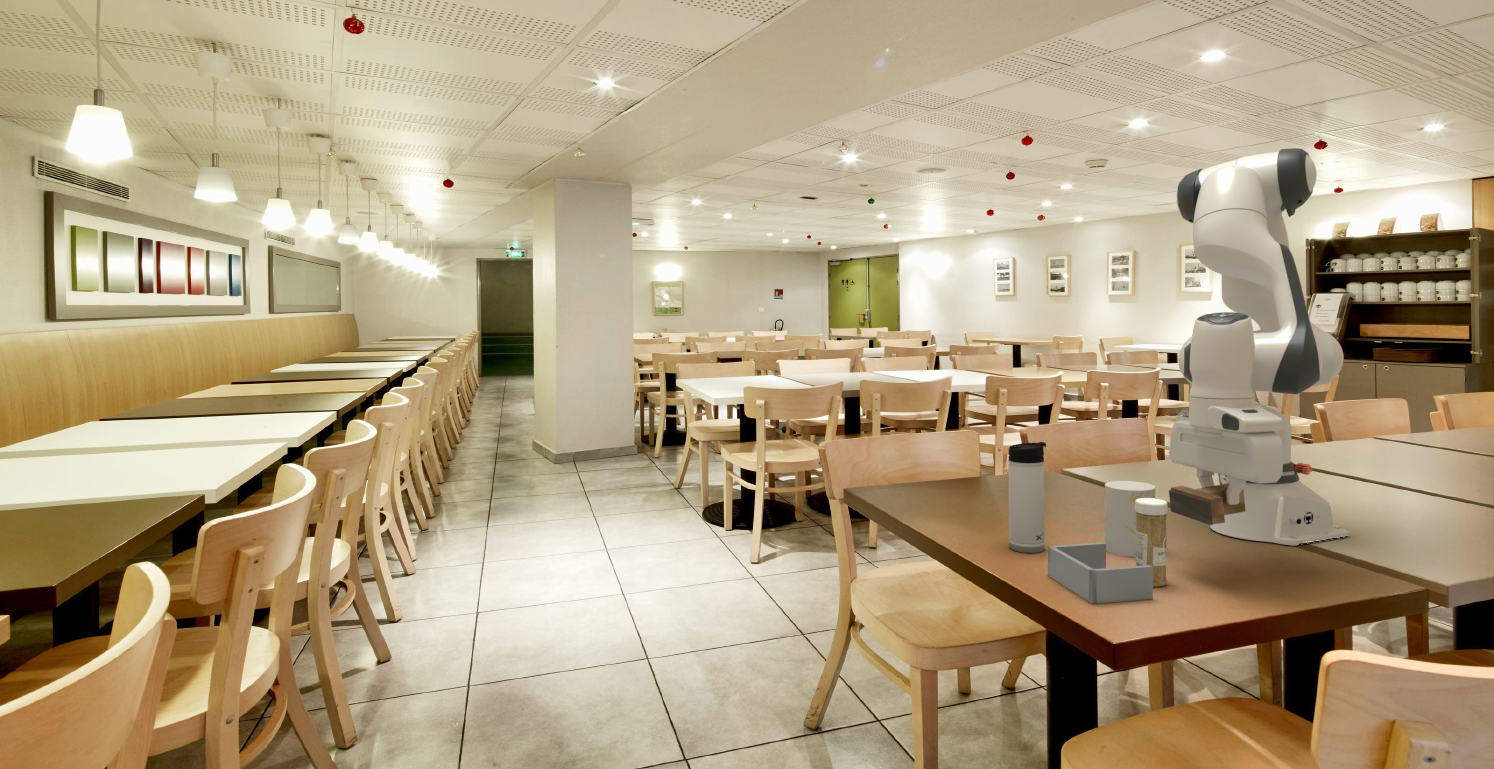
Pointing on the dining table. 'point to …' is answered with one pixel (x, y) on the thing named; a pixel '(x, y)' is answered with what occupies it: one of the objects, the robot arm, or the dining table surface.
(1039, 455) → the travel mug
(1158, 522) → the sprinkles bottle
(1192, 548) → the dining table surface
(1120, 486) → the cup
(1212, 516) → the scraper
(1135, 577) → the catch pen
